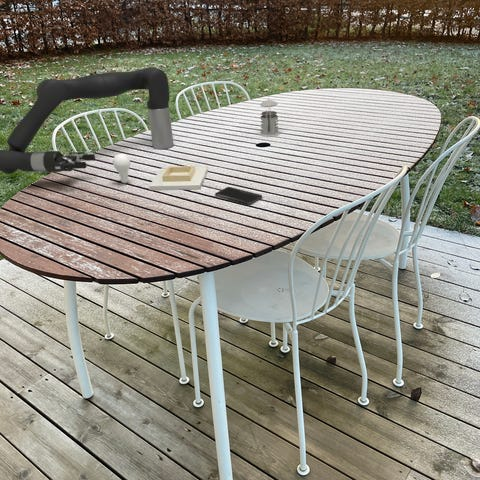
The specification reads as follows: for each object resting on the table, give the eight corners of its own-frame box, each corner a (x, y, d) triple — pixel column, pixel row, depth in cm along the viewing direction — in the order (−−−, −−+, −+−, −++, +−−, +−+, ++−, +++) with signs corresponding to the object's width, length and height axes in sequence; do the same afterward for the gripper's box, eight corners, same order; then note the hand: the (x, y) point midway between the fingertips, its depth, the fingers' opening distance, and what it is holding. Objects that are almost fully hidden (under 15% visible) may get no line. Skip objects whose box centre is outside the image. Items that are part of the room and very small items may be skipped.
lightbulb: (117, 187, 169) (111, 158, 164) (116, 181, 175) (111, 153, 169) (134, 184, 171) (129, 155, 166) (133, 179, 176) (128, 150, 171)
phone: (248, 203, 149) (213, 193, 157) (249, 207, 149) (213, 197, 158) (263, 195, 154) (228, 186, 163) (263, 198, 155) (228, 189, 163)
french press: (280, 130, 223) (279, 75, 211) (279, 137, 213) (279, 80, 201) (259, 131, 224) (257, 76, 212) (258, 138, 214) (256, 81, 202)
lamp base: (161, 172, 181) (160, 163, 180) (207, 171, 179) (207, 162, 178) (149, 190, 165) (148, 180, 164) (200, 189, 164) (199, 179, 162)
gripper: (35, 157, 163) (80, 157, 162) (53, 145, 176) (95, 145, 174) (40, 178, 167) (85, 178, 165) (58, 165, 179) (99, 164, 178)
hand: (90, 161), depth 170 cm, fingers open, 8 cm apart
